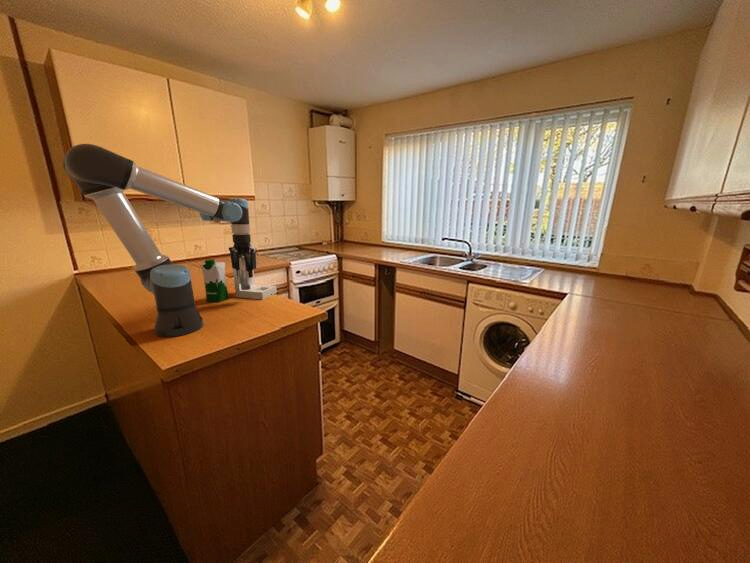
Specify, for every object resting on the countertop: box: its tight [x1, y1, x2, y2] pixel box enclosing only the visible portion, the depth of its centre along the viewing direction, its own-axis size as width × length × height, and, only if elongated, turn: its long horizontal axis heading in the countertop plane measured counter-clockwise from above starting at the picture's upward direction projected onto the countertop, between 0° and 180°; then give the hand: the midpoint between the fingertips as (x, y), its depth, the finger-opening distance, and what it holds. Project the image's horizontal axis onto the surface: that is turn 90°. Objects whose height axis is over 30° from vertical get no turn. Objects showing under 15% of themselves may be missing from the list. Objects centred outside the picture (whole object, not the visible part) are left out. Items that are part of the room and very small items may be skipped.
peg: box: [239, 256, 251, 290], centre depth 139 cm, size 4×4×15 cm
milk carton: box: [199, 258, 229, 303], centre depth 142 cm, size 9×9×20 cm
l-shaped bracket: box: [232, 260, 278, 300], centre depth 151 cm, size 12×16×16 cm
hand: (245, 283), depth 140 cm, fingers closed on peg, 4 cm apart
